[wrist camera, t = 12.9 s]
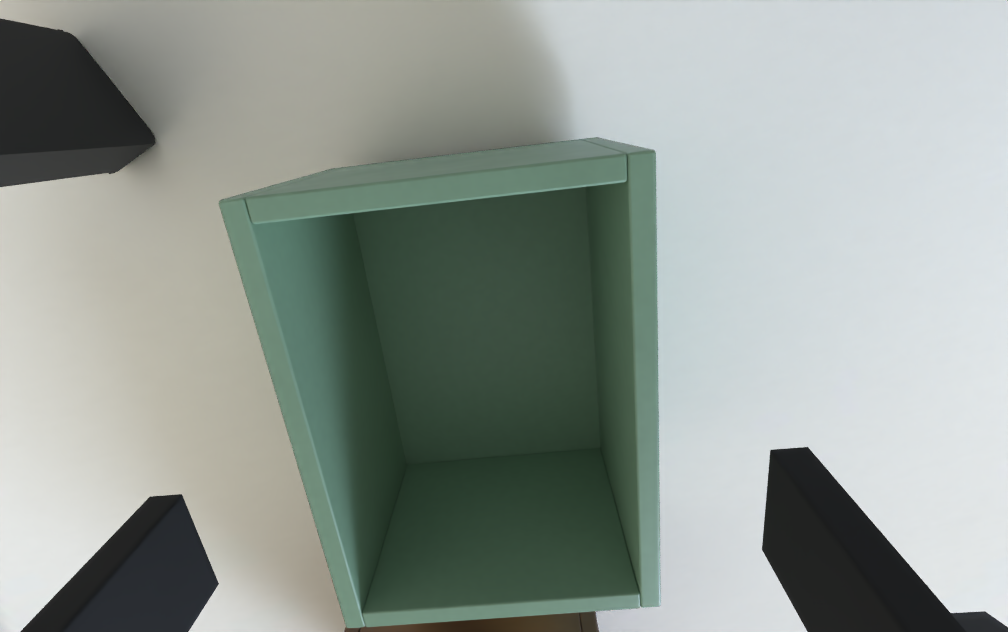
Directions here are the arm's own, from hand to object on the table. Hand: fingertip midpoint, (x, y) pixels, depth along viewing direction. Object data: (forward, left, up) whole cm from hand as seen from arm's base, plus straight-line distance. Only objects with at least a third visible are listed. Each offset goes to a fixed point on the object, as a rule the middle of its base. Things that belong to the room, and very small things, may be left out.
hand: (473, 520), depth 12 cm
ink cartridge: (+15, -11, -14) cm, 23 cm away
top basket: (0, 0, -14) cm, 14 cm away
